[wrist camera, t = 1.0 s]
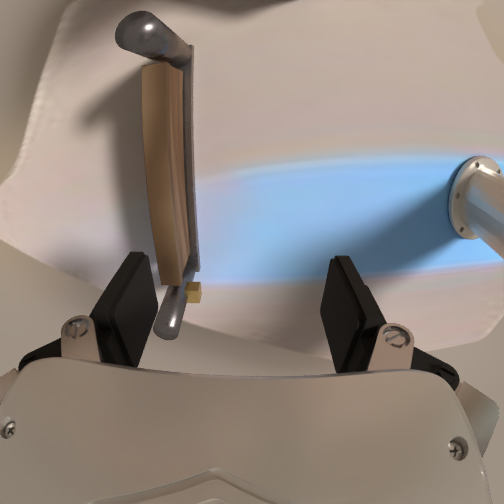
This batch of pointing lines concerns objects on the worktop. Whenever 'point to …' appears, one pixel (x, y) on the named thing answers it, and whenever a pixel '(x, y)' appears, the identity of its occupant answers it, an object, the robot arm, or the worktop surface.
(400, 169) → the worktop surface
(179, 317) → the gate frame
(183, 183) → the gate
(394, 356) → the robot arm
